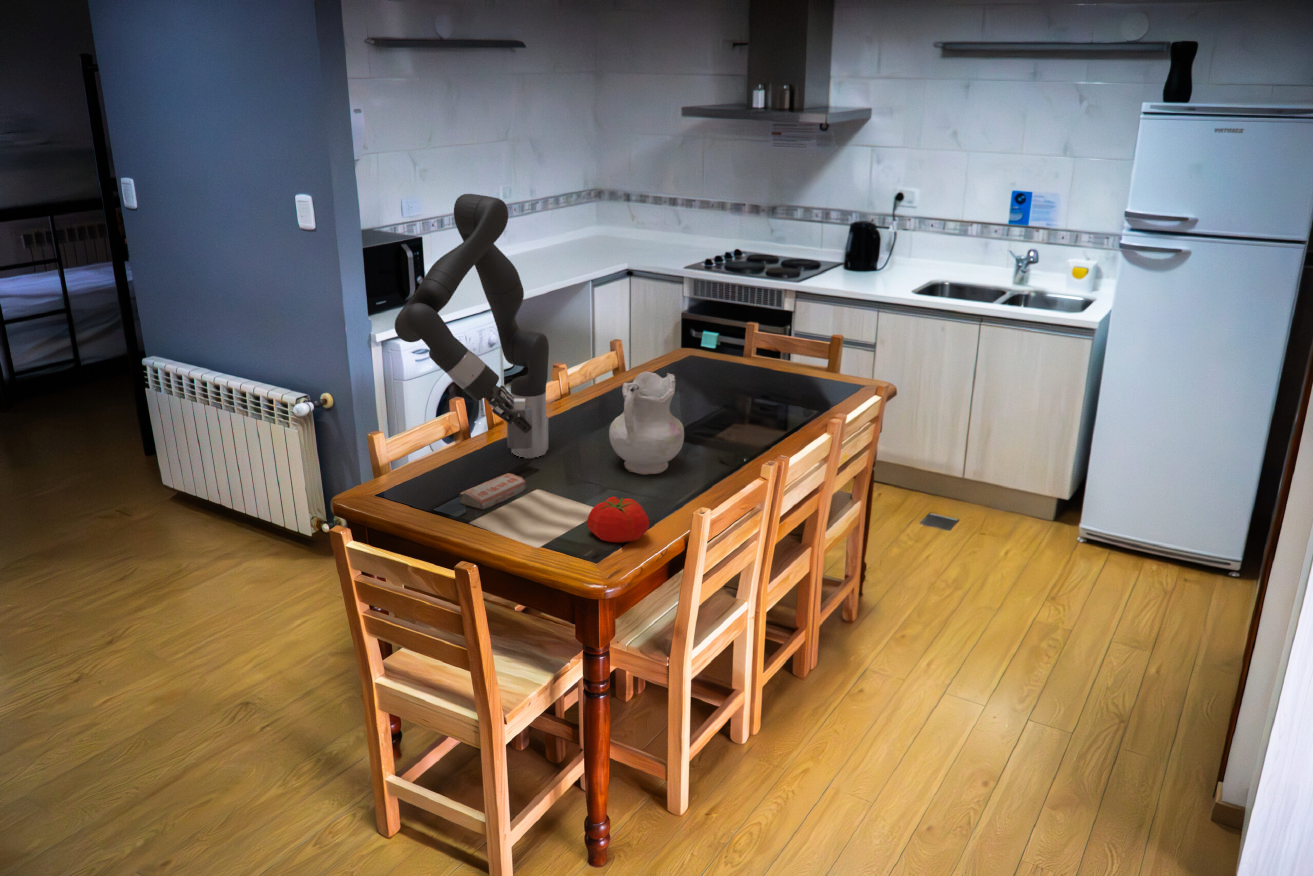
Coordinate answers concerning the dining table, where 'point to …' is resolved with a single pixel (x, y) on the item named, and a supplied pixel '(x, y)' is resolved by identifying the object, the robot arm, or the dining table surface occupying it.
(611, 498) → the tomato
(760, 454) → the dining table surface
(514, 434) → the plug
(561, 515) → the cloth
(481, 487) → the packaged product
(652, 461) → the ceramic pitcher
